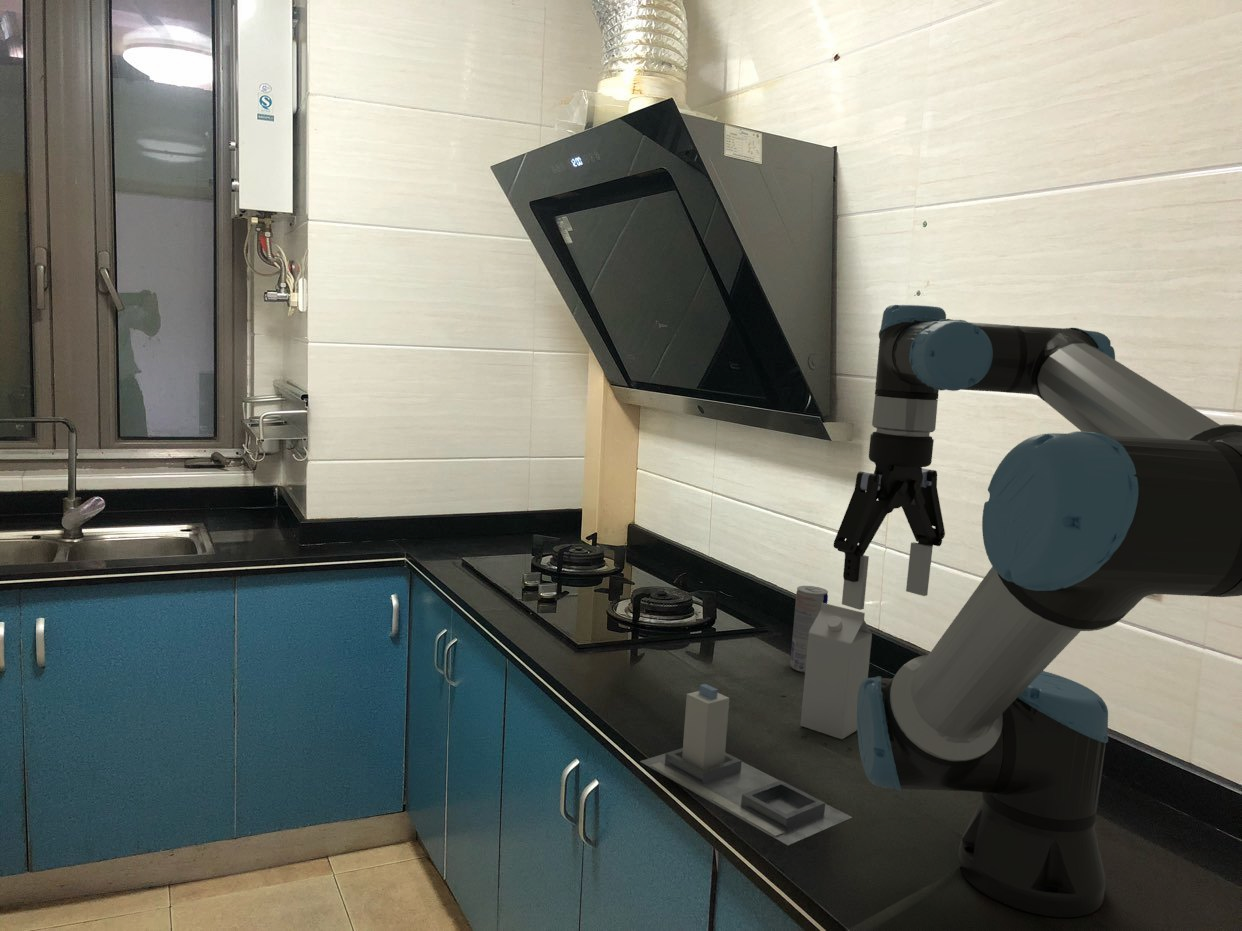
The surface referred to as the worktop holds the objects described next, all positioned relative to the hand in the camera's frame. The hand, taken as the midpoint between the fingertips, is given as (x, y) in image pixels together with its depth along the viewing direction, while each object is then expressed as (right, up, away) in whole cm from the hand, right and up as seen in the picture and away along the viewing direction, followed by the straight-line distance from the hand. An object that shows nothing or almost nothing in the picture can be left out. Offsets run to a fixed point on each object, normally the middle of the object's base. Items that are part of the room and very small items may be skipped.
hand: (885, 600), depth 121 cm
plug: (-22, -24, +8) cm, 33 cm away
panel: (-18, -26, +3) cm, 31 cm away
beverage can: (0, -20, +54) cm, 58 cm away
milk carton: (-1, -24, +27) cm, 36 cm away
